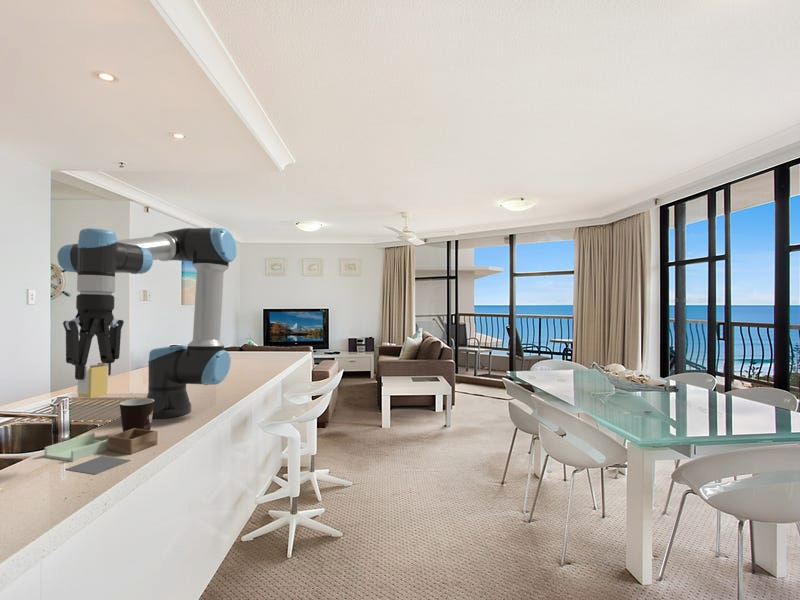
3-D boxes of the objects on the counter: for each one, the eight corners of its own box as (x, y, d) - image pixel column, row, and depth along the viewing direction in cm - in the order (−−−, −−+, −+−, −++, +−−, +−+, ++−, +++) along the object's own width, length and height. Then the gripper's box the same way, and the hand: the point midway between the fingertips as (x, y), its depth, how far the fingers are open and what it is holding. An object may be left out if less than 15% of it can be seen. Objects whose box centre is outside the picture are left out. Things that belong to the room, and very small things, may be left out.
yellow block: (94, 393, 107) (95, 364, 107) (106, 395, 106) (107, 365, 106) (78, 396, 103) (79, 366, 104) (90, 398, 102) (91, 367, 102)
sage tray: (92, 443, 120) (92, 432, 120) (119, 446, 117) (119, 436, 117) (44, 458, 108) (44, 447, 108) (73, 463, 105) (73, 451, 105)
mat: (101, 458, 109) (101, 456, 109) (130, 462, 106) (130, 460, 106) (65, 471, 100) (65, 469, 100) (95, 476, 98) (95, 474, 98)
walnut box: (133, 442, 120) (134, 428, 120) (157, 445, 118) (157, 431, 118) (107, 452, 113) (107, 436, 113) (131, 455, 111) (131, 440, 111)
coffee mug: (137, 442, 121) (138, 406, 121) (111, 440, 123) (112, 404, 123) (168, 430, 132) (168, 397, 132) (143, 428, 134) (144, 395, 134)
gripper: (116, 294, 114) (114, 384, 114) (46, 292, 98) (43, 396, 98) (139, 295, 112) (136, 386, 112) (70, 292, 96) (67, 399, 95)
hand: (92, 391), depth 105 cm, fingers closed on yellow block, 4 cm apart
